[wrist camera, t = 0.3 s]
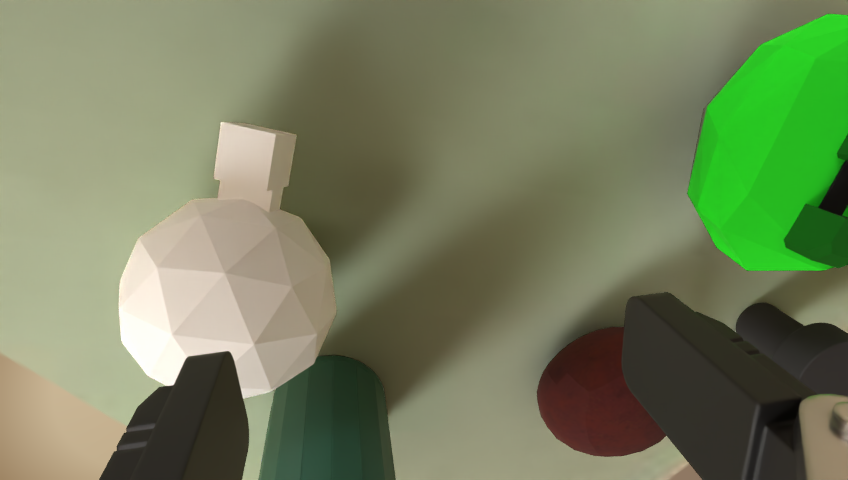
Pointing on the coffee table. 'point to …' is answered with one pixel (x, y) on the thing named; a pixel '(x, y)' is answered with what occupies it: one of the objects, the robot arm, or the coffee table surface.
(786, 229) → the miniature building
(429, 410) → the coffee table surface
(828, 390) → the stopper
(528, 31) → the coffee table surface
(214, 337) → the perfume bottle
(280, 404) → the green bottle
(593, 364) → the potato
